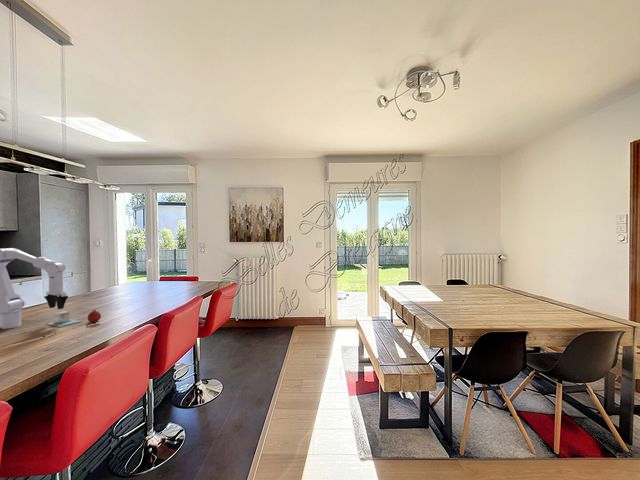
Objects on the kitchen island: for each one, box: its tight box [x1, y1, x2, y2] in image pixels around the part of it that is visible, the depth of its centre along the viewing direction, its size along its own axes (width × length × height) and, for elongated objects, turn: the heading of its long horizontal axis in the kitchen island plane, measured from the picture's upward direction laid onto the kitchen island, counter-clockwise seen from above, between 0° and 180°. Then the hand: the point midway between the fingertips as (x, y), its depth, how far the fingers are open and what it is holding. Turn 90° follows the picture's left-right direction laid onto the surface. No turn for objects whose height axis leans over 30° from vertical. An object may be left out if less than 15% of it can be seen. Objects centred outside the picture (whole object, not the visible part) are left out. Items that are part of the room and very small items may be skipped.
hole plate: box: [45, 318, 83, 328], centre depth 152 cm, size 14×10×2 cm
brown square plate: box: [19, 324, 51, 333], centre depth 144 cm, size 9×9×1 cm
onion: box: [87, 308, 102, 324], centre depth 154 cm, size 6×6×8 cm
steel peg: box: [54, 310, 70, 324], centre depth 153 cm, size 4×4×7 cm
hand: (56, 308), depth 151 cm, fingers open, 7 cm apart
